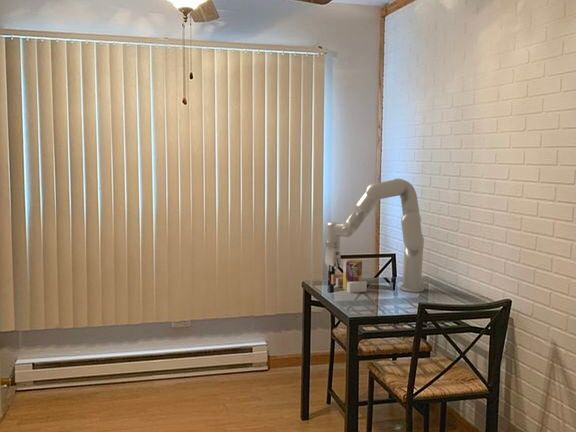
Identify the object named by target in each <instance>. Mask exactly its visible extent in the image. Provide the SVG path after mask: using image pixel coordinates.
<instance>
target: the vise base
mask: <svg viewBox="0 0 576 432" xmlns="http://www.w3.org/2000/svg"><path fill="white" fill-rule="evenodd" d="M367 287H368V282H367V281H365V280H362V281H353V282H347V290H346V292H347V293H349V294H350V293H351V294H352V293H362V292H367Z"/></svg>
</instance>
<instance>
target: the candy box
mask: <svg viewBox="0 0 576 432" xmlns="http://www.w3.org/2000/svg"><path fill="white" fill-rule="evenodd" d="M342 267H343V269H342V270H343V271H342V274H343V287H342V289H343V290H344V291H347V282H353V281H363V280H362V278H363V277H362V274H363V271H362V270H363V260H361V259H343V266H342Z"/></svg>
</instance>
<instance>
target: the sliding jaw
mask: <svg viewBox="0 0 576 432" xmlns="http://www.w3.org/2000/svg"><path fill="white" fill-rule="evenodd" d="M330 284H331V285H335V287H336V288H343V273H335V274H331V278H330Z"/></svg>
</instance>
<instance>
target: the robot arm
mask: <svg viewBox="0 0 576 432" xmlns="http://www.w3.org/2000/svg"><path fill="white" fill-rule="evenodd" d="M416 191H417V190H416V189H415V187H414V186H413V184H412V183H410V182H409V181H408V180H405V179H403V178H394V179H391V180H387V181H382V182H372V183H369V185H368V186H367V188H366V190H365V192H364V193H363V194H362V195H361V197H360V198H359V200H358V201H357V202H356V204H355V206H354V209H353V211H352V213H351V214H350V216H349V217H348V218H347V219H346V221H345V222H343V223H340V222H339V221H329V222H327V223H326V235H325V253H324V254H325V255H324V263H325V265H326V267H327V269H328V275H327V277H328V279H331V274H336V271H337V270H338V269H339V267H340V266H341V261H342V260H341V248H340V246H341V237H343V238H350V237H351V236H353V235H354V234H355V233H356V232H357V230H358V229H359V228H360V226H361V224H362V223H363V222H364V220H366V218H367V217H368V216H369V214H370V213H371V212H372V211H373V210H374V207H375V206H376V204H378V202H379V201H380V200H383V199H387V198H388V199H389V198H393V197H398V196H399V197H400V204H401V208H402V216H401V230H402V239H403V245H404V256H403V273H402V285H400V286H399V290H401V291H403V292H408V293H421V292H424V290H425V289H424V286H425V287H426V286H429V282H428V281H422V273H423V259H424V243H425V239H424V238H425V237H424V235H423V233H422V225H421V224H422V223H421V221H422V219H421V218H422V217H421V214H420V207H419V201H418V196H417V192H416Z"/></svg>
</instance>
